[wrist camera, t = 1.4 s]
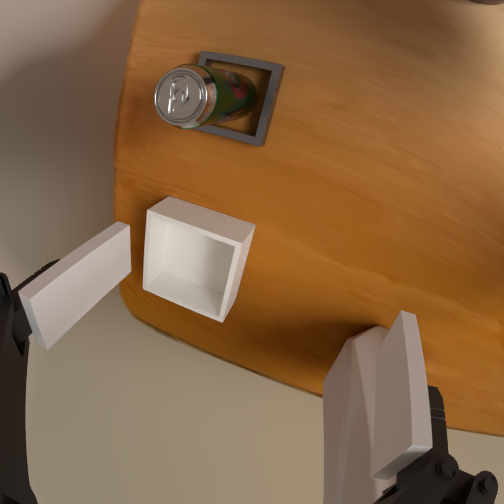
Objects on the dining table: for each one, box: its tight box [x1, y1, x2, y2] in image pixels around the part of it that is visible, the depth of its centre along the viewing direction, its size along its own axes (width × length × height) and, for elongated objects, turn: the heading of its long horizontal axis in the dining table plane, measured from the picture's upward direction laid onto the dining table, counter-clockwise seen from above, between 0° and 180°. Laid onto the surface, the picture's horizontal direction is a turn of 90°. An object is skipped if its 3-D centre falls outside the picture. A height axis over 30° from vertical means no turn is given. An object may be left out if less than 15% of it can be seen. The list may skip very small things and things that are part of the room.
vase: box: [323, 326, 397, 504], centre depth 24 cm, size 12×12×33 cm
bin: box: [143, 196, 256, 323], centre depth 37 cm, size 11×11×5 cm
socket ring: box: [193, 51, 285, 147], centre depth 29 cm, size 9×9×2 cm
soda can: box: [154, 64, 257, 129], centre depth 25 cm, size 5×5×12 cm
